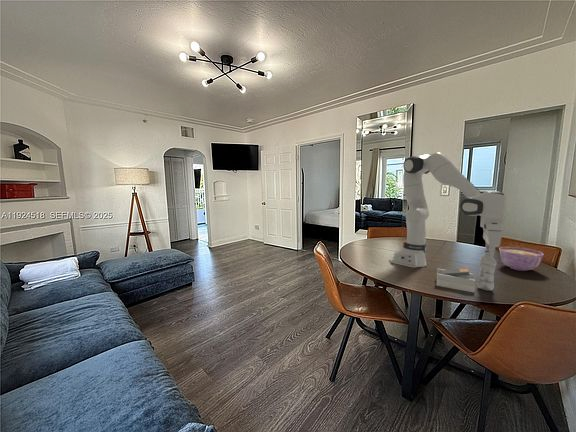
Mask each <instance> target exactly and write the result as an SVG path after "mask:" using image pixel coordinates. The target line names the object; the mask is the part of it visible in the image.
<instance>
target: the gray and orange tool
mask: <svg viewBox="0 0 576 432" xmlns="http://www.w3.org/2000/svg"><path fill="white" fill-rule="evenodd" d="M469 273H470V271H469V268H459V269H457V268H456V269H445V270H441V274H443V275H449V276H463V275H469Z"/></svg>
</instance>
